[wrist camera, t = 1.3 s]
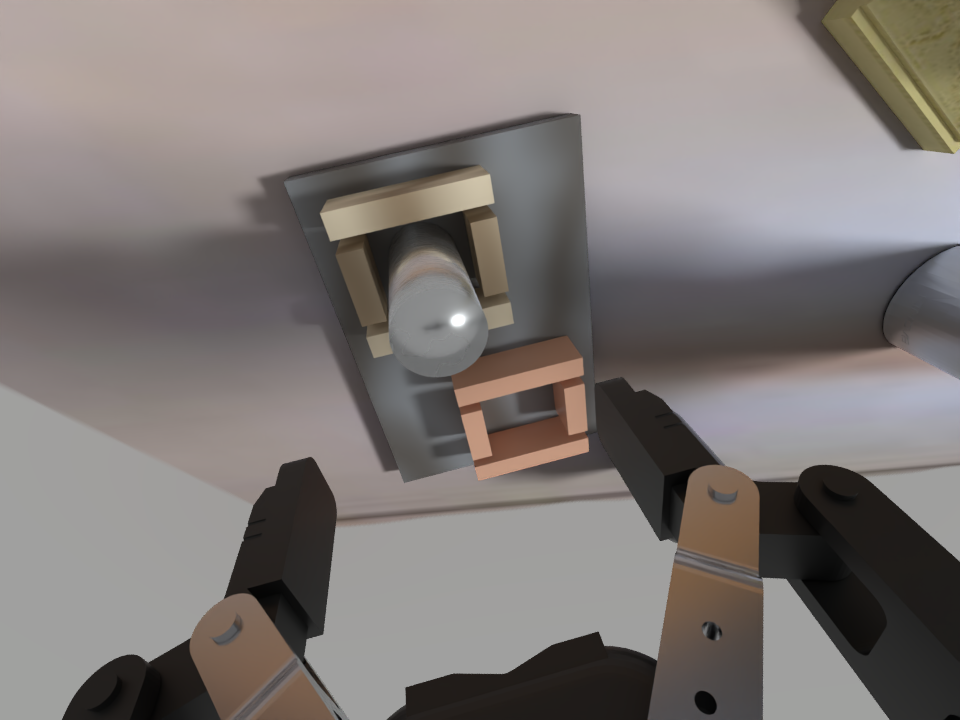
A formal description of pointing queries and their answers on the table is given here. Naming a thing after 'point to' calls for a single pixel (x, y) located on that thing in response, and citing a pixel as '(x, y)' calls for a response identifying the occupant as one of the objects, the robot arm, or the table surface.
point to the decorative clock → (907, 61)
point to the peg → (432, 303)
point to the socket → (513, 375)
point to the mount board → (486, 257)
